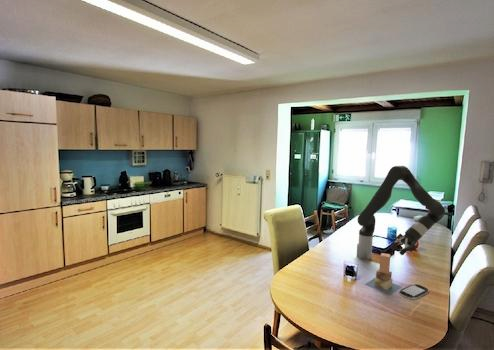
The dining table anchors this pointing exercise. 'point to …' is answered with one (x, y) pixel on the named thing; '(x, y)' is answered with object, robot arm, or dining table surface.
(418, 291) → the gaming console
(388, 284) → the tower base
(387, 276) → the tower top
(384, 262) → the terracotta pillar
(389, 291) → the slate mat
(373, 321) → the dining table surface
